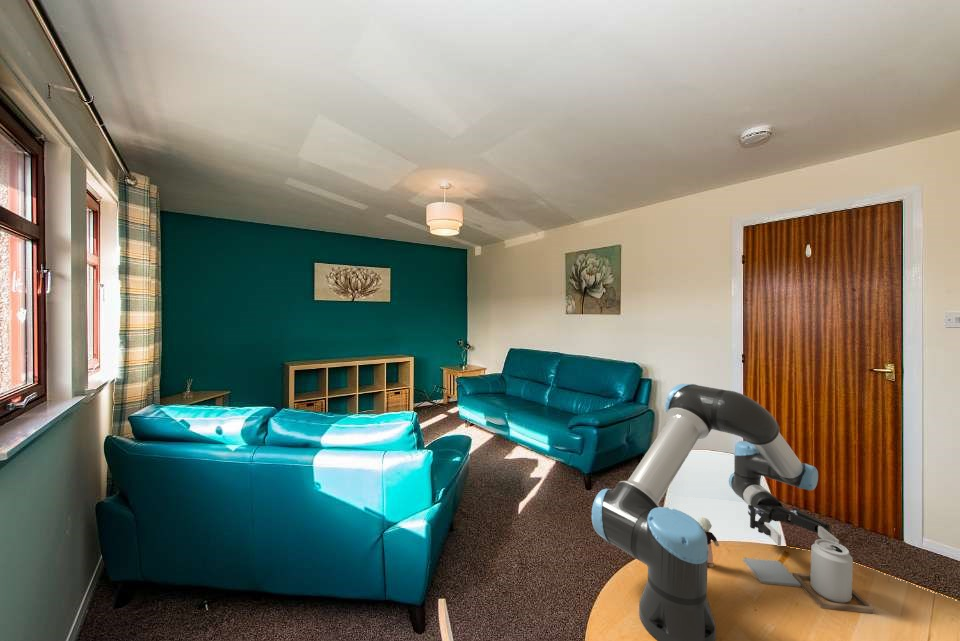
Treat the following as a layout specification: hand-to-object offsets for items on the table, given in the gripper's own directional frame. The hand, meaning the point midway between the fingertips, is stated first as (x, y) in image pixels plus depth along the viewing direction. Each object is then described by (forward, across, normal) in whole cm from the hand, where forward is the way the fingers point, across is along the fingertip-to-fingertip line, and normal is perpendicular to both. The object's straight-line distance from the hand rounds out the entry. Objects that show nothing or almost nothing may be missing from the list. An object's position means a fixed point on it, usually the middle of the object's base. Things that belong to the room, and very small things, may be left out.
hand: (808, 542), depth 103 cm
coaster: (+3, +10, -7) cm, 13 cm away
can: (+9, 0, -8) cm, 11 cm away
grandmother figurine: (+2, +26, -8) cm, 27 cm away
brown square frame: (+9, 0, -7) cm, 11 cm away
